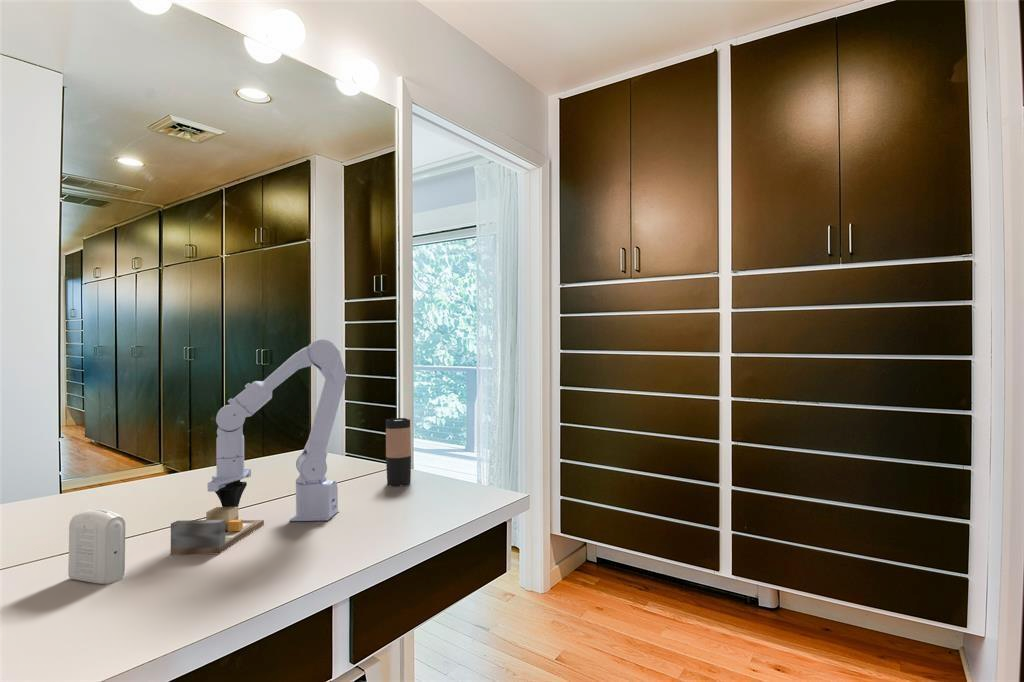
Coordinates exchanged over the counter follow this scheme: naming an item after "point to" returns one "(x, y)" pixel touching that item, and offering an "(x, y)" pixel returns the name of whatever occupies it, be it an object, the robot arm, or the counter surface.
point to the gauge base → (207, 535)
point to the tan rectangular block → (223, 514)
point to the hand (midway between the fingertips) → (230, 515)
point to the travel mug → (398, 451)
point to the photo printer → (97, 546)
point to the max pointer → (235, 525)
